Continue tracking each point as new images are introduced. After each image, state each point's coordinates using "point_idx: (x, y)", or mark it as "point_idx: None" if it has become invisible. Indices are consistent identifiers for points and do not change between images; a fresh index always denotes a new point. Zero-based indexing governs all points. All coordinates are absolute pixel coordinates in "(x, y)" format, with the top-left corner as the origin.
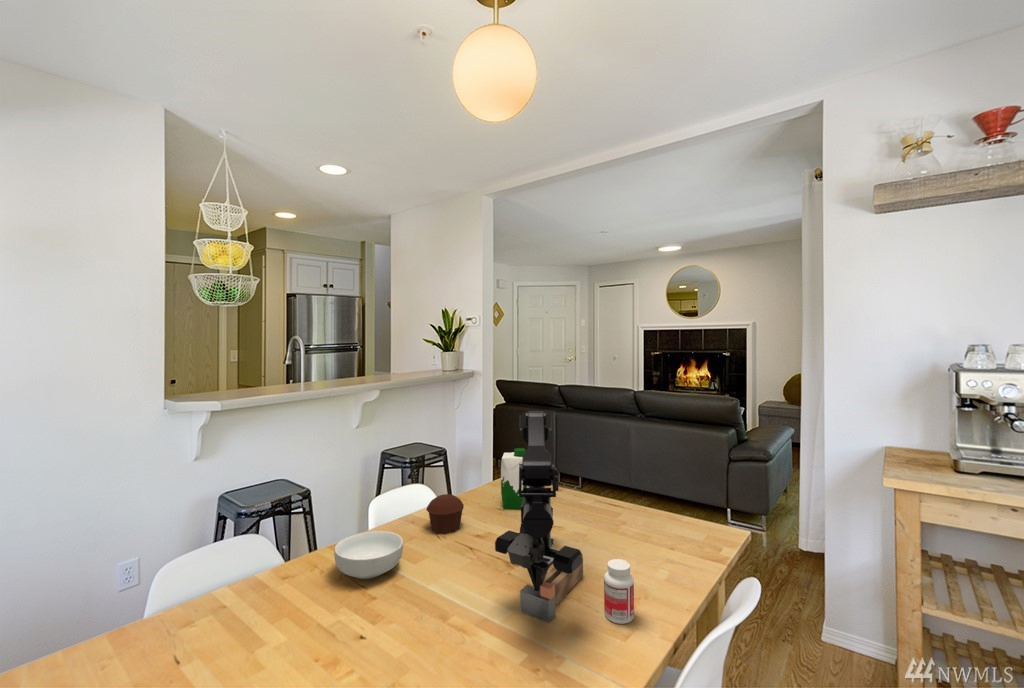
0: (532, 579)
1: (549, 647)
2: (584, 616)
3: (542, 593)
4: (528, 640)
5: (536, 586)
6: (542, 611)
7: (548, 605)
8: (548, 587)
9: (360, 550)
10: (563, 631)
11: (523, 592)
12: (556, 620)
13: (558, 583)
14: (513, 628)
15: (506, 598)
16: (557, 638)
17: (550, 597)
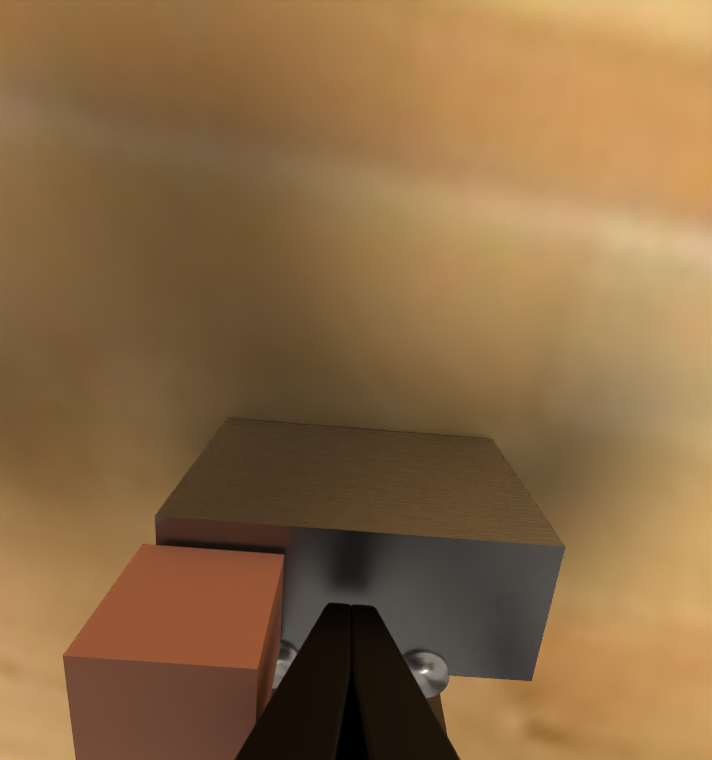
0: (412, 743)
1: (59, 128)
2: (45, 589)
3: (245, 582)
4: (260, 124)
5: (339, 647)
6: (270, 453)
7: (178, 488)
8: (119, 680)
9: None
10: (77, 374)
11: (512, 540)
12: (190, 467)
13: None
14: (451, 214)
15: (659, 536)
16: (69, 272)
17: (132, 562)
